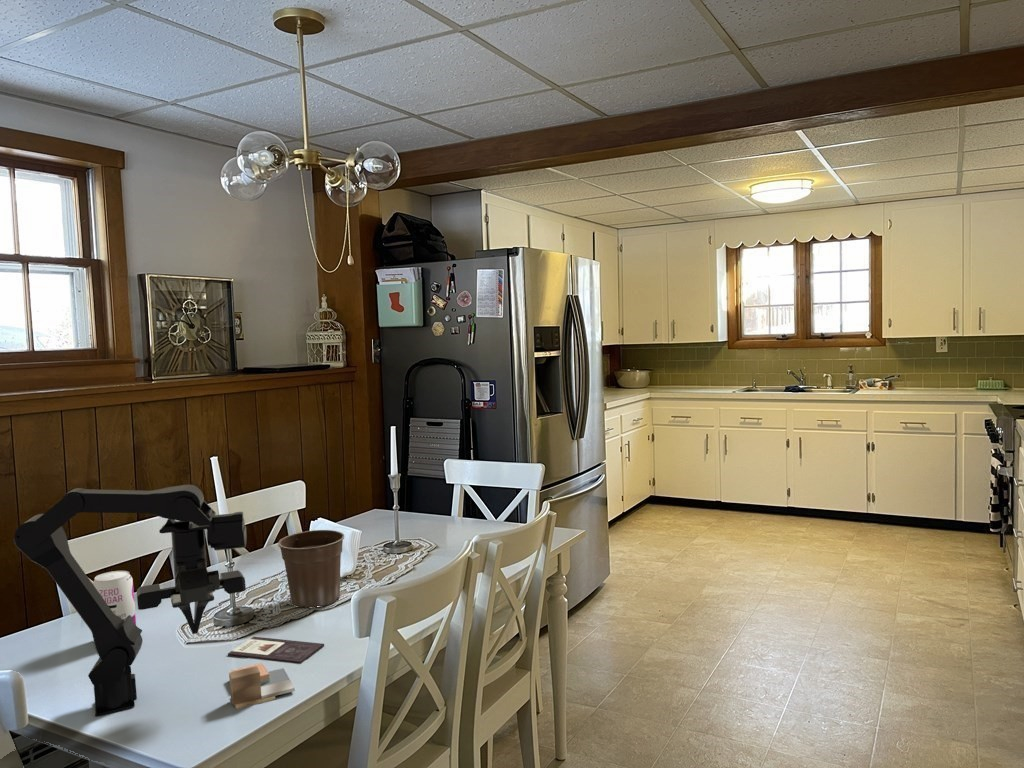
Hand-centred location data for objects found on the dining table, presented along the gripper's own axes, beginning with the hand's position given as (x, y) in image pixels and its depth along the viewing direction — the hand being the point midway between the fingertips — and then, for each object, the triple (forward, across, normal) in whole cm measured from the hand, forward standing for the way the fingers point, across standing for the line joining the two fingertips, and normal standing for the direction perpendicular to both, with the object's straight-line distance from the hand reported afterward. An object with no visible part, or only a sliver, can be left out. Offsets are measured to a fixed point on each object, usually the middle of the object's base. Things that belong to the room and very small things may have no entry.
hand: (194, 633), depth 147 cm
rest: (+12, +9, -8) cm, 17 cm away
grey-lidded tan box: (+11, +10, -8) cm, 17 cm away
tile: (+11, +6, 0) cm, 12 cm away
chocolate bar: (+12, +17, +12) cm, 24 cm away
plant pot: (+12, +31, +39) cm, 51 cm away
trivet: (+12, +12, -2) cm, 17 cm away
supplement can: (+12, -14, +38) cm, 42 cm away
